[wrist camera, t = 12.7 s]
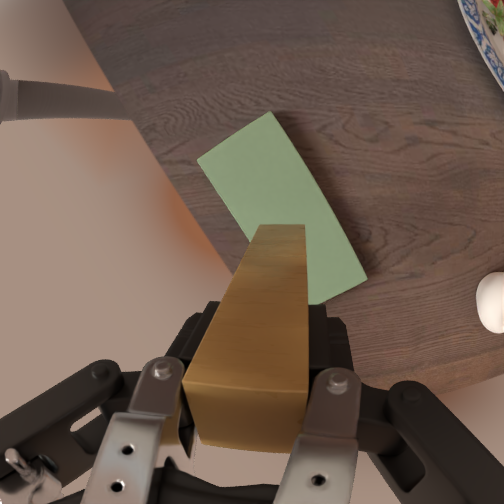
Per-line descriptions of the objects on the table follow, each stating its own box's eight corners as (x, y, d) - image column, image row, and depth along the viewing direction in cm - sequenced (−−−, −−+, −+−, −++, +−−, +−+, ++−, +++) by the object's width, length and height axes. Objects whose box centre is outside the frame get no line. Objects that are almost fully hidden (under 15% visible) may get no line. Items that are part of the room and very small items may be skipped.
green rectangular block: (201, 159, 27) (196, 160, 25) (272, 112, 24) (270, 110, 23) (297, 307, 31) (297, 314, 29) (365, 273, 28) (368, 279, 27)
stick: (260, 266, 20) (201, 444, 7) (259, 224, 19) (180, 380, 6) (304, 266, 20) (299, 454, 7) (304, 224, 19) (308, 391, 6)
